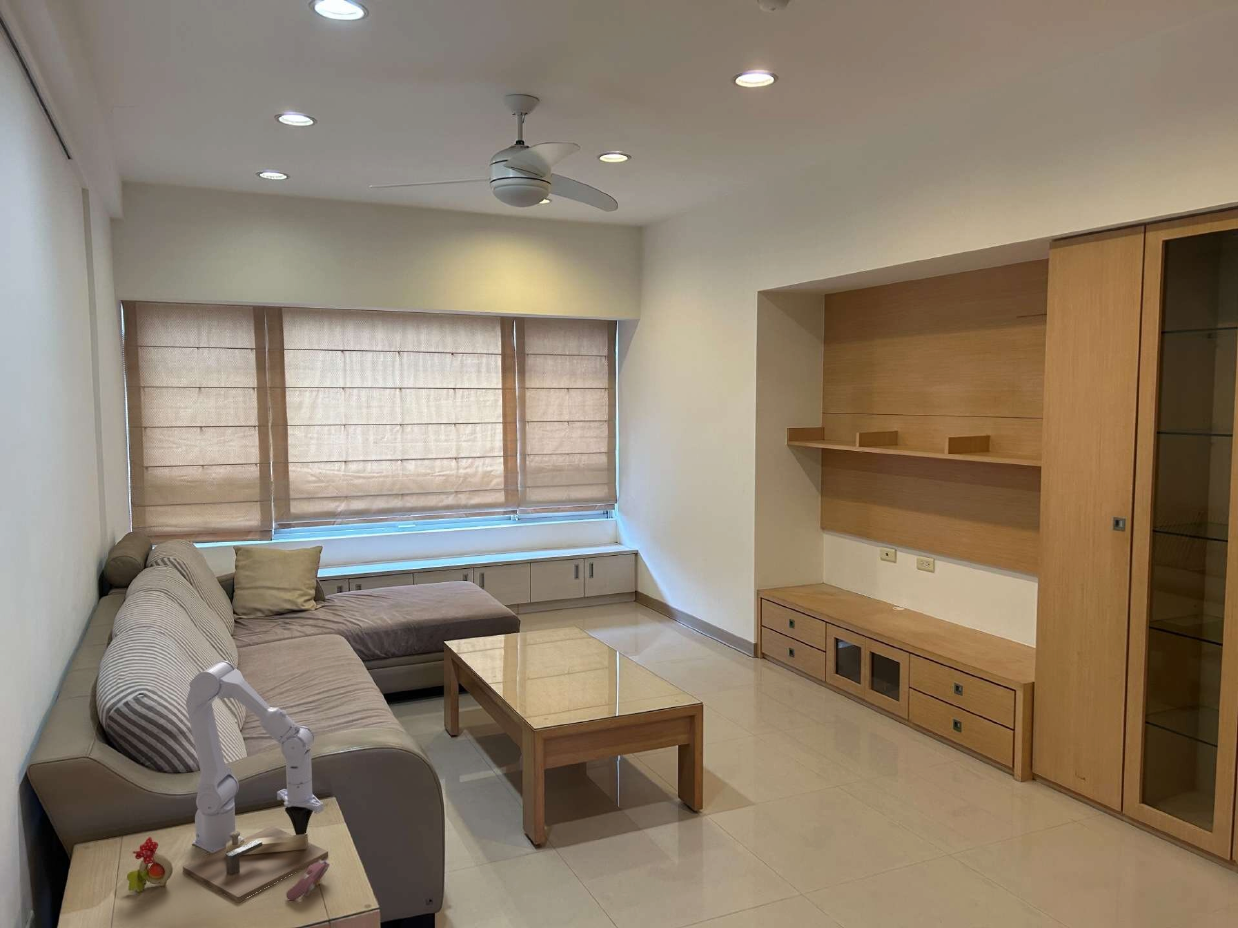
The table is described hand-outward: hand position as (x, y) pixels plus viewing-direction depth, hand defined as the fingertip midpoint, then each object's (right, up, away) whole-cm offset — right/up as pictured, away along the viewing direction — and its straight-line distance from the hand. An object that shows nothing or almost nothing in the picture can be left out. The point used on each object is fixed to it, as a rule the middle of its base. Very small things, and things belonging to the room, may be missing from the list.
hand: (301, 833), depth 213 cm
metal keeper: (-8, -2, -12) cm, 15 cm away
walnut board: (-7, -3, -9) cm, 12 cm away
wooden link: (-6, -1, -5) cm, 8 cm away
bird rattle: (-27, -4, -18) cm, 32 cm away
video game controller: (+9, -4, -19) cm, 22 cm away
